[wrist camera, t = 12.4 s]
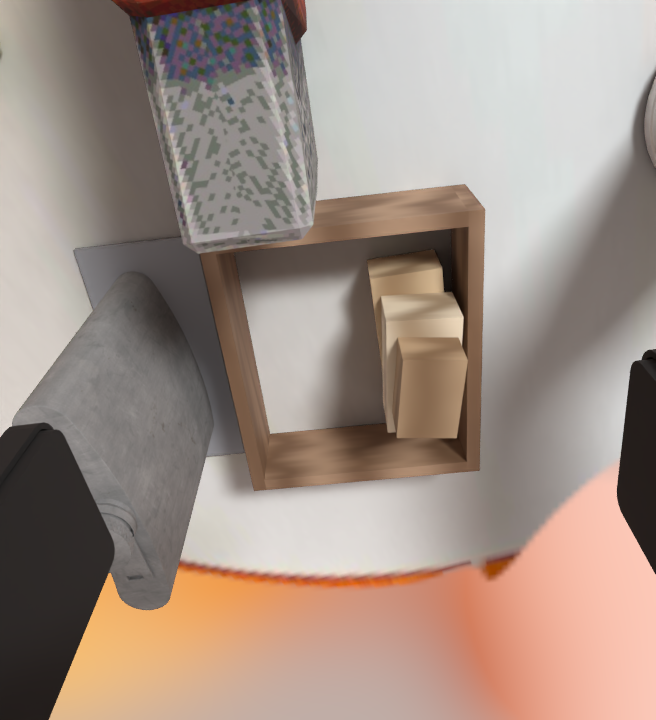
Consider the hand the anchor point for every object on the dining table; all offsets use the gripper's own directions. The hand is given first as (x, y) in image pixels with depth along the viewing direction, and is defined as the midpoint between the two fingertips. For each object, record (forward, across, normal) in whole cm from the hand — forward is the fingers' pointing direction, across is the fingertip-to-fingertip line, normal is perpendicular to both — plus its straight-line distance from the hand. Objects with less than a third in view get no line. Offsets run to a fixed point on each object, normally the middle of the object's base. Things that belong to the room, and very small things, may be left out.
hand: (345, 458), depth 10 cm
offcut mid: (+31, -3, +16) cm, 35 cm away
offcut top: (+27, -3, +16) cm, 32 cm away
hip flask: (+34, +16, +16) cm, 41 cm away
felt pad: (+34, +17, +16) cm, 41 cm away
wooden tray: (+35, +2, +16) cm, 38 cm away
